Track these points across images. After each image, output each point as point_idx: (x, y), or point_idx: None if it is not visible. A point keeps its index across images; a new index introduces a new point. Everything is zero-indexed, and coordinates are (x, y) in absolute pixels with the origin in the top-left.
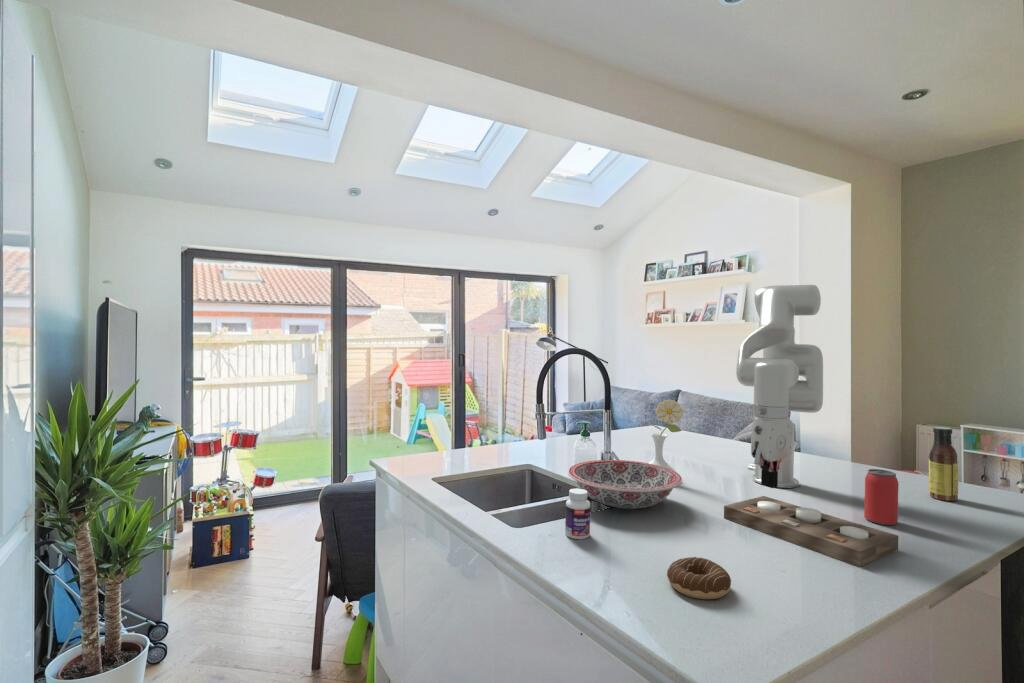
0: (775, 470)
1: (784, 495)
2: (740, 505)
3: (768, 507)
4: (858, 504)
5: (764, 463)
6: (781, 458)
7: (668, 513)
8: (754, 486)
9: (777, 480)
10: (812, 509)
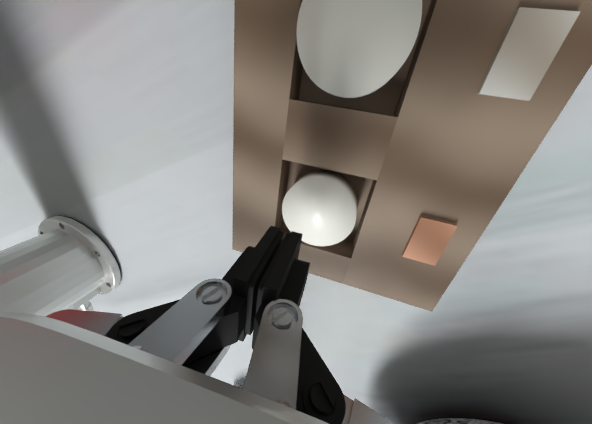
0: (223, 290)
1: (130, 220)
2: (387, 276)
3: (355, 205)
4: (11, 64)
5: (342, 422)
6: (161, 376)
7: (489, 380)
8: (142, 278)
9: (259, 241)
10: (310, 27)
